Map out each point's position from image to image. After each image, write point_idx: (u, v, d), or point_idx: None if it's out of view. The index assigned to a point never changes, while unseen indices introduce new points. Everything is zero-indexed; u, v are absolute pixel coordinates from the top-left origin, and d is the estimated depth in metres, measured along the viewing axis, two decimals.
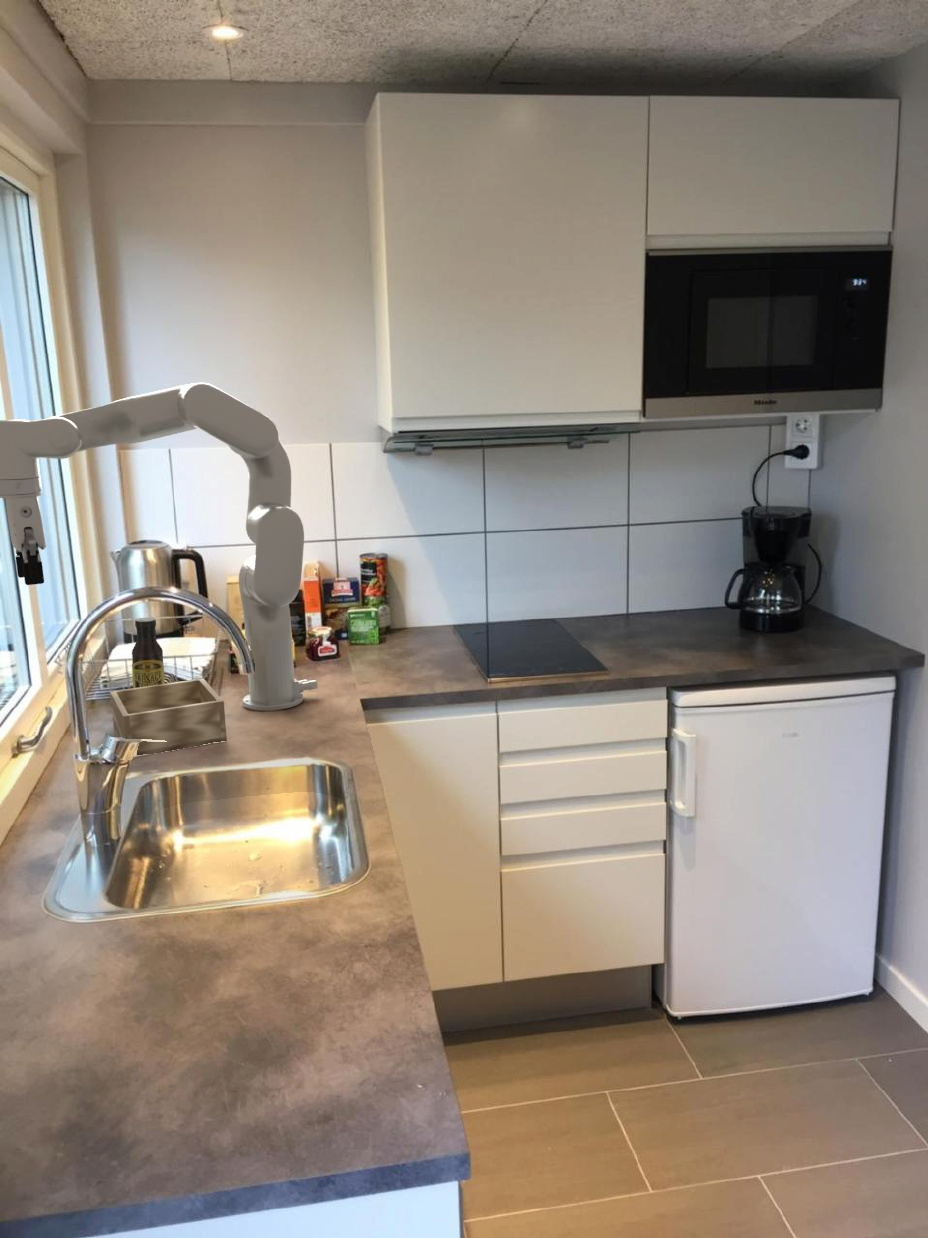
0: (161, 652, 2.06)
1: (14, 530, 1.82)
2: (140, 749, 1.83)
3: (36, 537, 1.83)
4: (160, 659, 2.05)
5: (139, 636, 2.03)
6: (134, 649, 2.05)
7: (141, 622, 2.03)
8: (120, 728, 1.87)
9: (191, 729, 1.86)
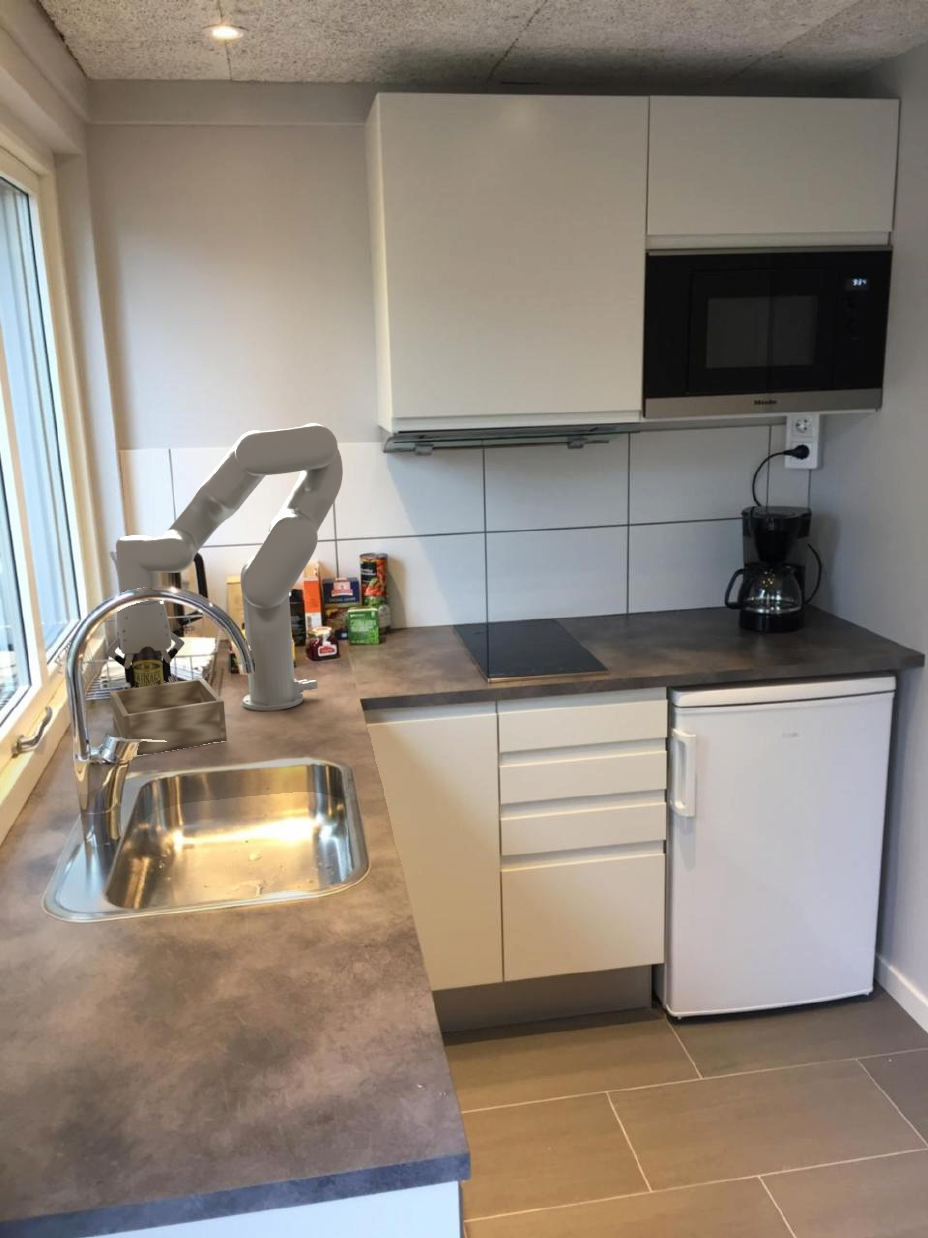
0: (160, 652, 2.06)
1: (165, 631, 2.05)
2: (140, 749, 1.83)
3: None
4: (159, 659, 2.05)
5: None
6: None
7: None
8: (120, 728, 1.87)
9: (191, 729, 1.86)
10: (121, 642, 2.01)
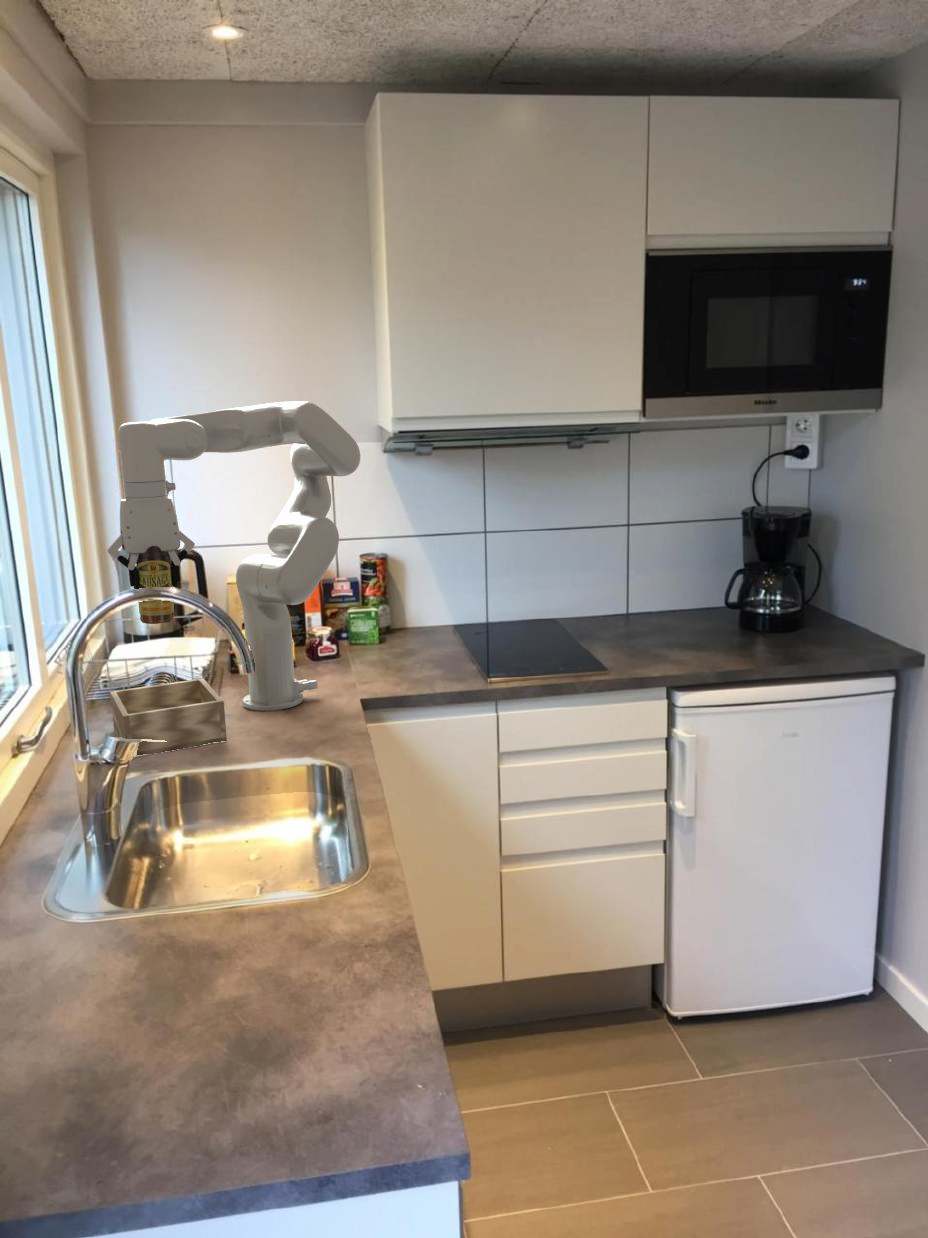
0: None
1: (173, 529, 1.85)
2: (140, 749, 1.83)
3: None
4: (167, 560, 1.86)
5: None
6: None
7: None
8: (120, 728, 1.87)
9: (191, 729, 1.86)
10: (125, 540, 1.82)
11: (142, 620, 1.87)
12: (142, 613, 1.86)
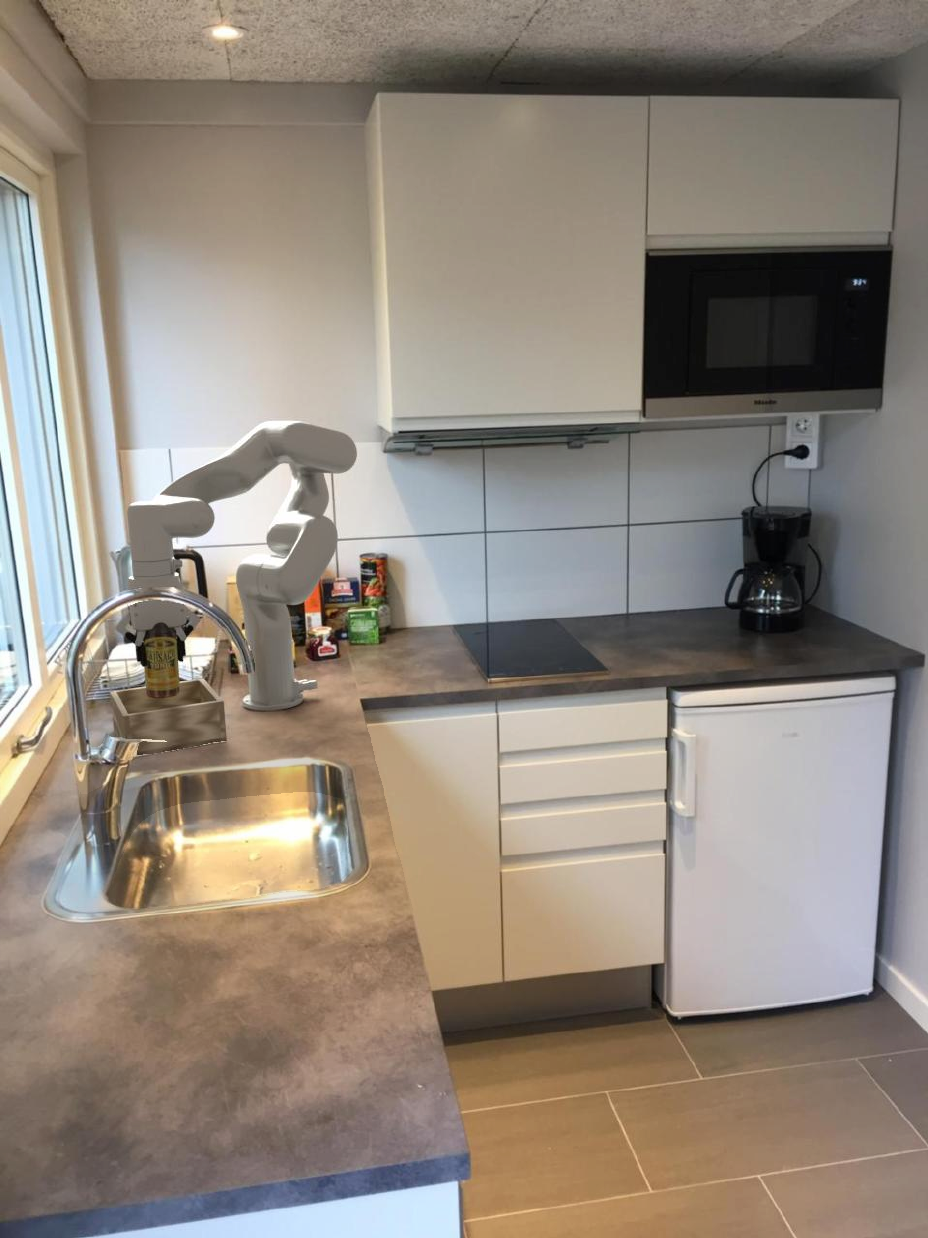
0: None
1: (180, 606, 1.88)
2: (140, 749, 1.83)
3: None
4: (173, 636, 1.89)
5: None
6: None
7: None
8: (120, 728, 1.87)
9: (191, 729, 1.86)
10: (132, 617, 1.85)
11: (148, 694, 1.90)
12: (148, 688, 1.89)
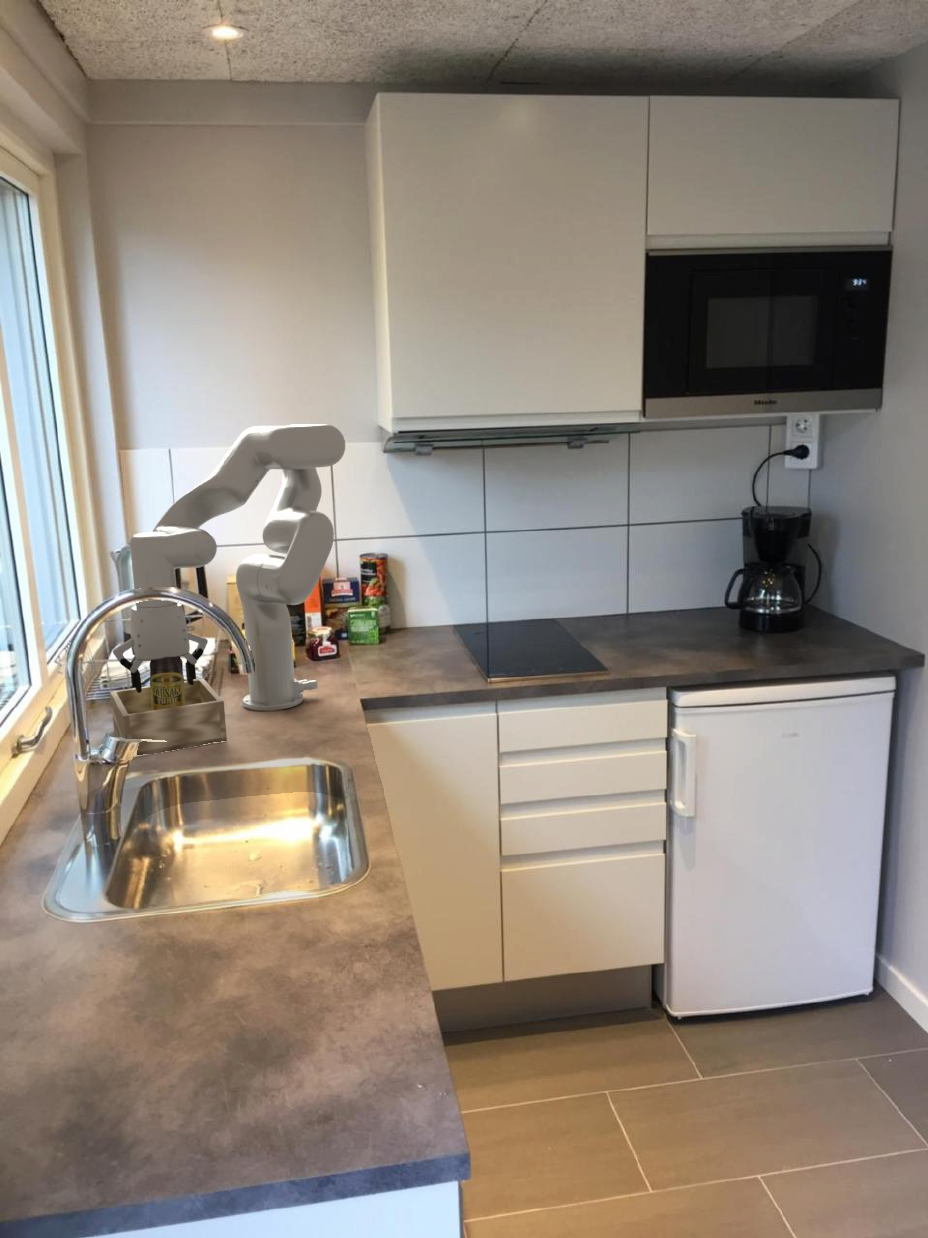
0: (181, 664, 1.91)
1: (183, 636, 1.89)
2: (140, 749, 1.83)
3: None
4: (180, 672, 1.91)
5: None
6: (152, 661, 1.90)
7: None
8: (120, 728, 1.87)
9: (191, 729, 1.86)
10: (135, 647, 1.86)
11: None
12: None
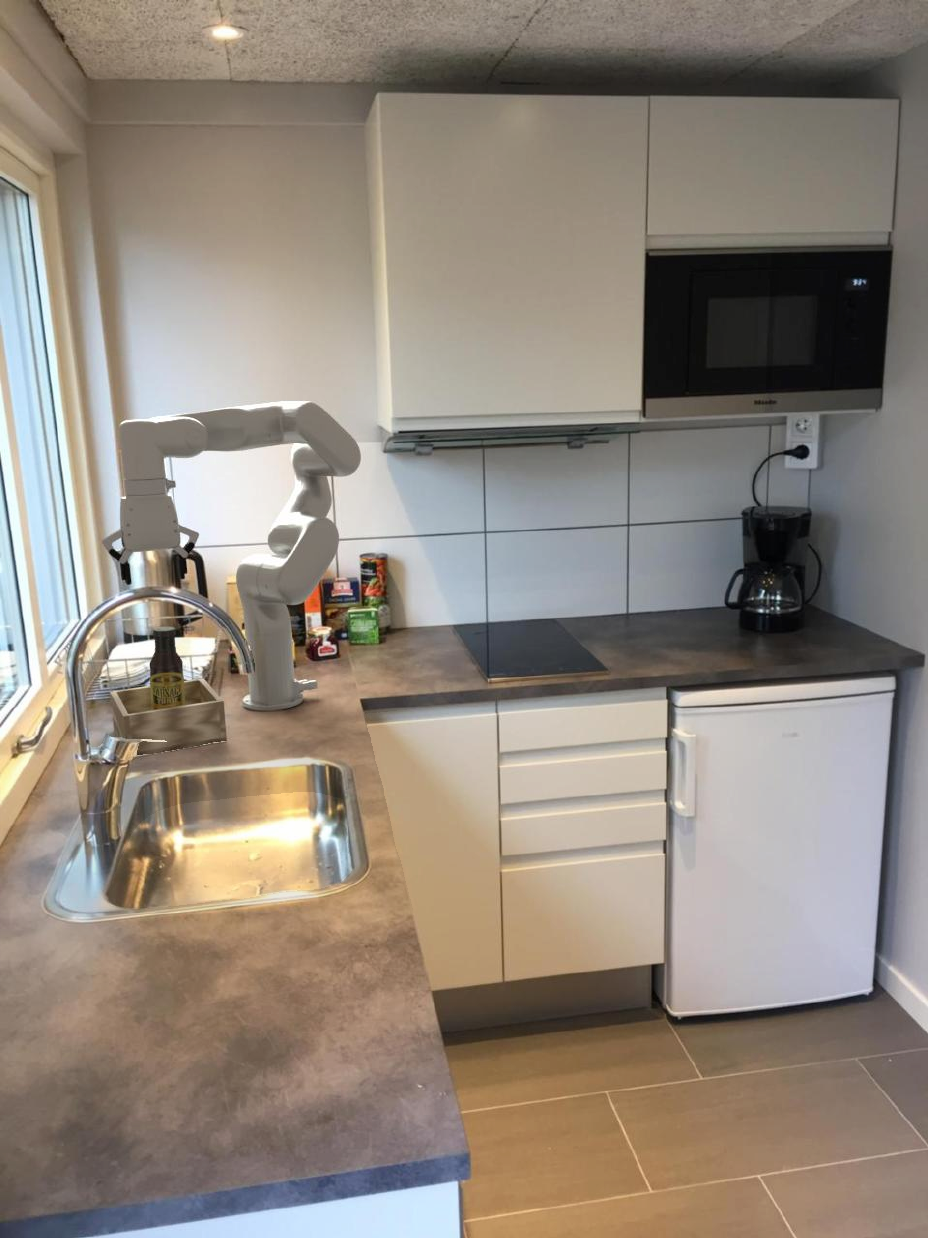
0: (181, 664, 1.91)
1: (173, 527, 1.85)
2: (140, 749, 1.83)
3: None
4: (180, 672, 1.91)
5: (158, 646, 1.89)
6: (152, 661, 1.90)
7: (160, 632, 1.88)
8: (120, 728, 1.87)
9: (191, 729, 1.86)
10: (125, 537, 1.82)
11: None
12: None
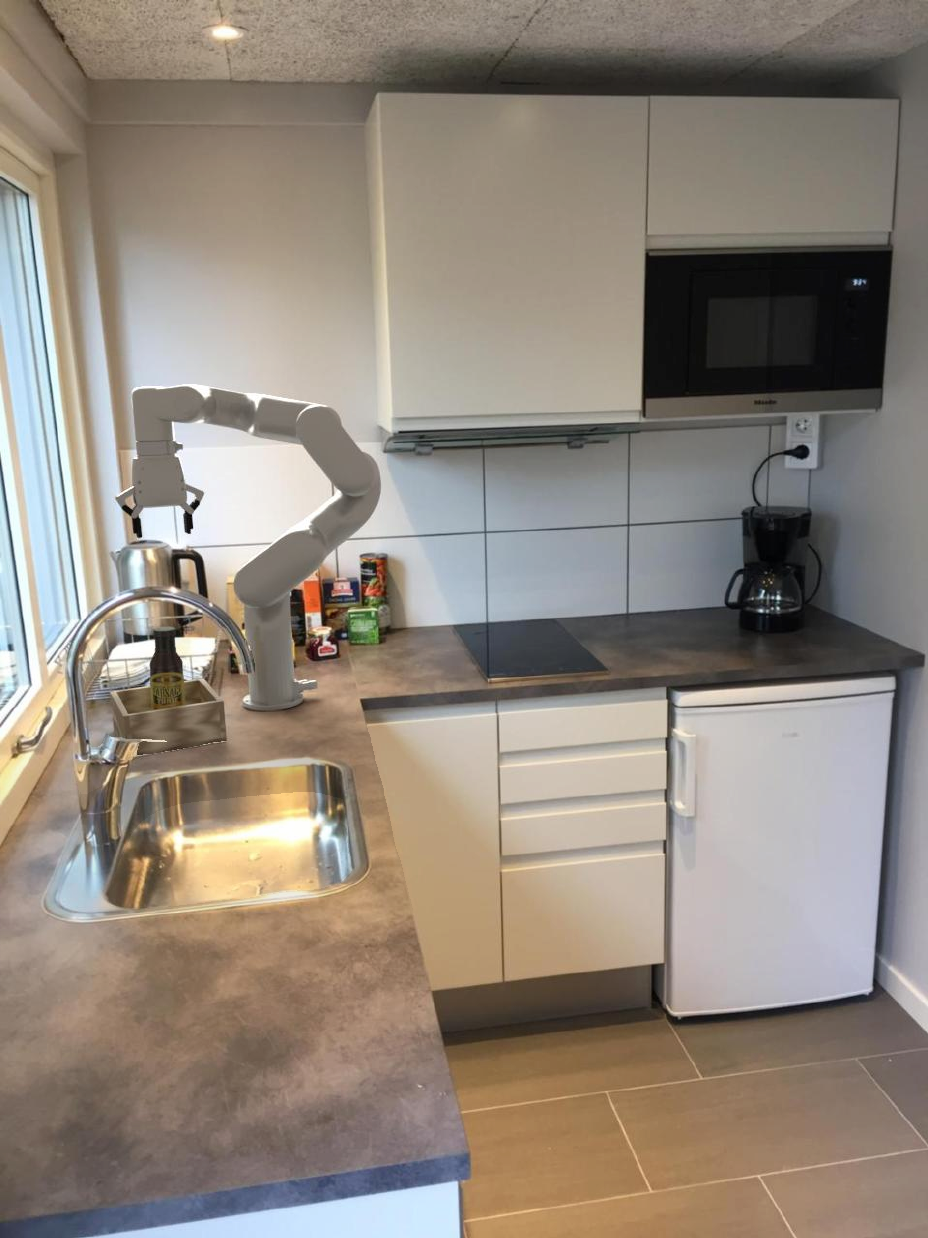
0: (181, 664, 1.91)
1: (181, 485, 2.03)
2: (140, 749, 1.83)
3: None
4: (180, 672, 1.91)
5: (158, 646, 1.89)
6: (152, 661, 1.90)
7: (160, 632, 1.88)
8: (120, 728, 1.87)
9: (191, 729, 1.86)
10: (136, 494, 1.99)
11: None
12: None
